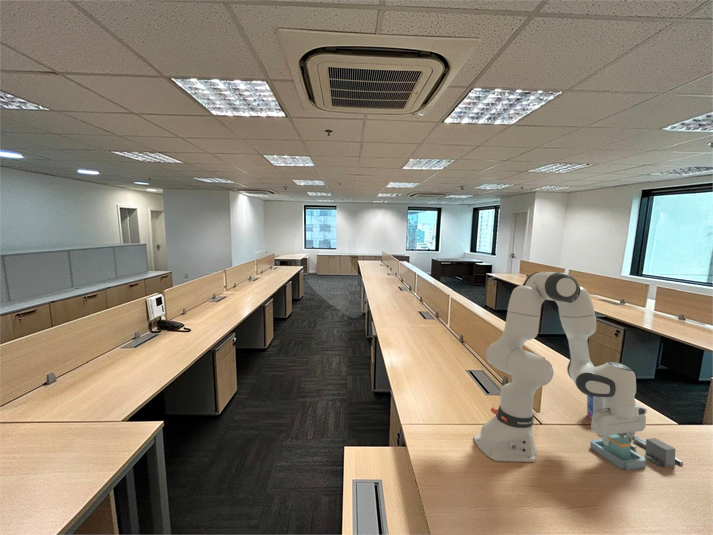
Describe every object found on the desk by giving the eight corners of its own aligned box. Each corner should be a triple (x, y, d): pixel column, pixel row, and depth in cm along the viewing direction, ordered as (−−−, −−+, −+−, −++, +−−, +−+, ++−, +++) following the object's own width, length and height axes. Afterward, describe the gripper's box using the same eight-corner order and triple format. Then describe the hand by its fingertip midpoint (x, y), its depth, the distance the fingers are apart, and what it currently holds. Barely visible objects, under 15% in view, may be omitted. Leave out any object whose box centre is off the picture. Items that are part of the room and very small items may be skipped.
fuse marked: (621, 461, 101) (621, 443, 100) (603, 449, 107) (604, 433, 106) (630, 459, 101) (631, 442, 101) (612, 448, 107) (613, 432, 107)
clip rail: (655, 469, 98) (656, 465, 98) (593, 430, 119) (593, 427, 119) (682, 464, 100) (682, 460, 100) (616, 427, 121) (616, 424, 121)
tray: (623, 470, 97) (624, 463, 97) (588, 446, 109) (588, 440, 109) (647, 466, 99) (648, 460, 99) (610, 443, 111) (611, 437, 111)
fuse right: (665, 467, 98) (666, 450, 98) (645, 455, 104) (646, 439, 104) (674, 466, 99) (675, 448, 99) (654, 454, 105) (654, 437, 105)
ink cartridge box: (610, 416, 129) (611, 386, 129) (618, 423, 124) (619, 392, 123) (585, 414, 132) (586, 384, 131) (592, 420, 126) (593, 389, 126)
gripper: (603, 414, 98) (602, 452, 99) (650, 409, 102) (649, 445, 102) (586, 405, 105) (585, 440, 105) (631, 400, 108) (629, 434, 109)
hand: (617, 443), depth 104 cm, fingers open, 8 cm apart
